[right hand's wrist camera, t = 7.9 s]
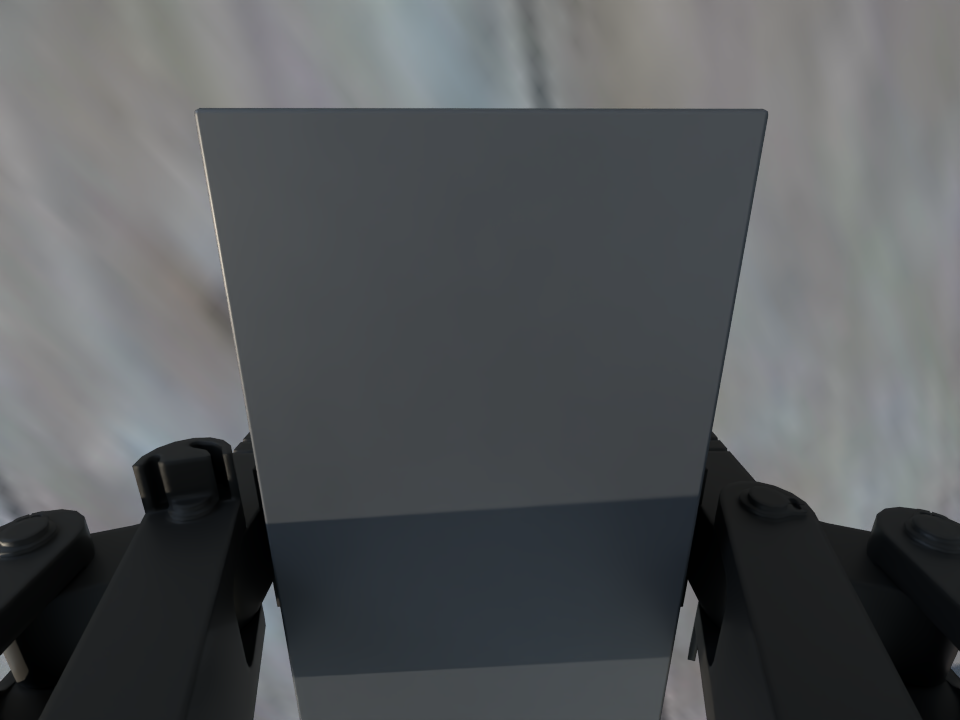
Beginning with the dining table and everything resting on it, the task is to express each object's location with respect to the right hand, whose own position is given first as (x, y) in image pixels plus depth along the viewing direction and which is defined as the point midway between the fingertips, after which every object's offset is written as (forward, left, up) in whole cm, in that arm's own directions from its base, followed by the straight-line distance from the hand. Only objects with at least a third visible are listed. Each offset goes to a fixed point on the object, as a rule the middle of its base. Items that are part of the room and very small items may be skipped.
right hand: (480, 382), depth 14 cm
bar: (+22, +24, -1) cm, 32 cm away
